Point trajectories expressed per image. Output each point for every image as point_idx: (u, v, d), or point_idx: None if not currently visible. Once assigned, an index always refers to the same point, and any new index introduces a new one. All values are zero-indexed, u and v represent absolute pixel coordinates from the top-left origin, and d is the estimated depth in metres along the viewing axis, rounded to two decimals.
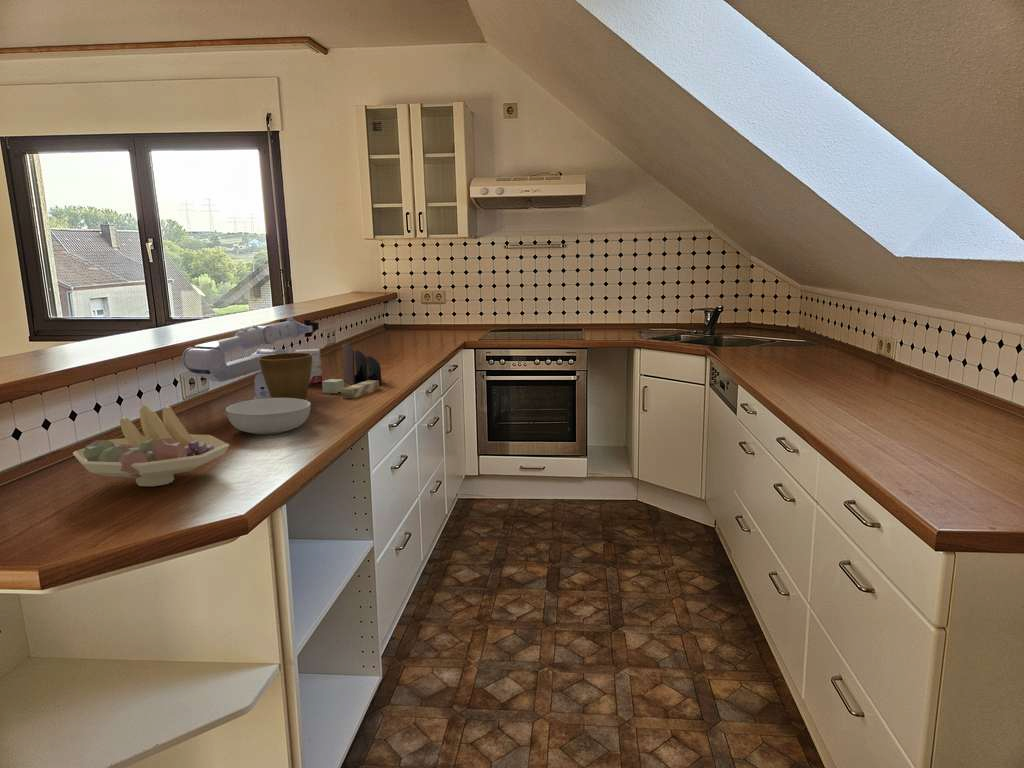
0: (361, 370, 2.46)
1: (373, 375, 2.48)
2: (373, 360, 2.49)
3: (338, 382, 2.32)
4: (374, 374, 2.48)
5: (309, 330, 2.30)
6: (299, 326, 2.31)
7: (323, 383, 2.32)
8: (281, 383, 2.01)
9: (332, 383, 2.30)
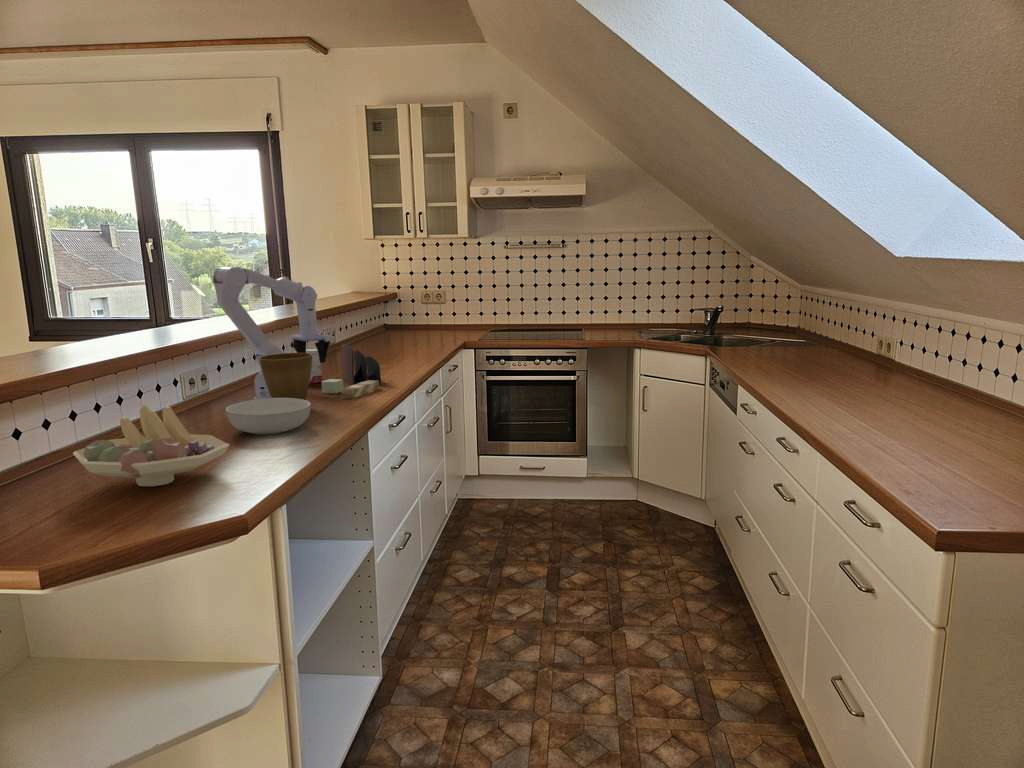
0: (360, 370, 2.46)
1: (372, 375, 2.48)
2: (372, 360, 2.49)
3: (337, 382, 2.32)
4: (373, 374, 2.48)
5: (327, 336, 2.30)
6: None
7: (322, 383, 2.31)
8: (281, 383, 2.01)
9: (331, 383, 2.30)
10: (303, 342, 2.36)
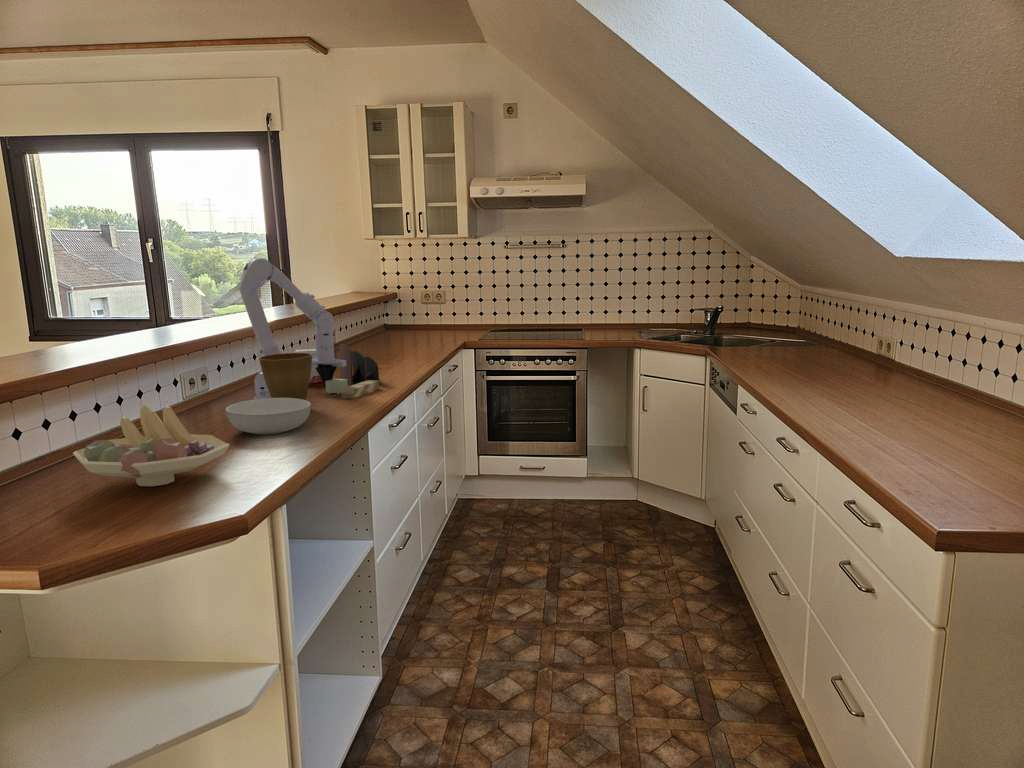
0: (359, 370, 2.46)
1: (371, 375, 2.48)
2: (371, 360, 2.48)
3: (341, 382, 2.31)
4: (372, 374, 2.48)
5: (343, 362, 2.30)
6: None
7: (326, 383, 2.31)
8: (281, 383, 2.01)
9: (335, 383, 2.30)
10: None
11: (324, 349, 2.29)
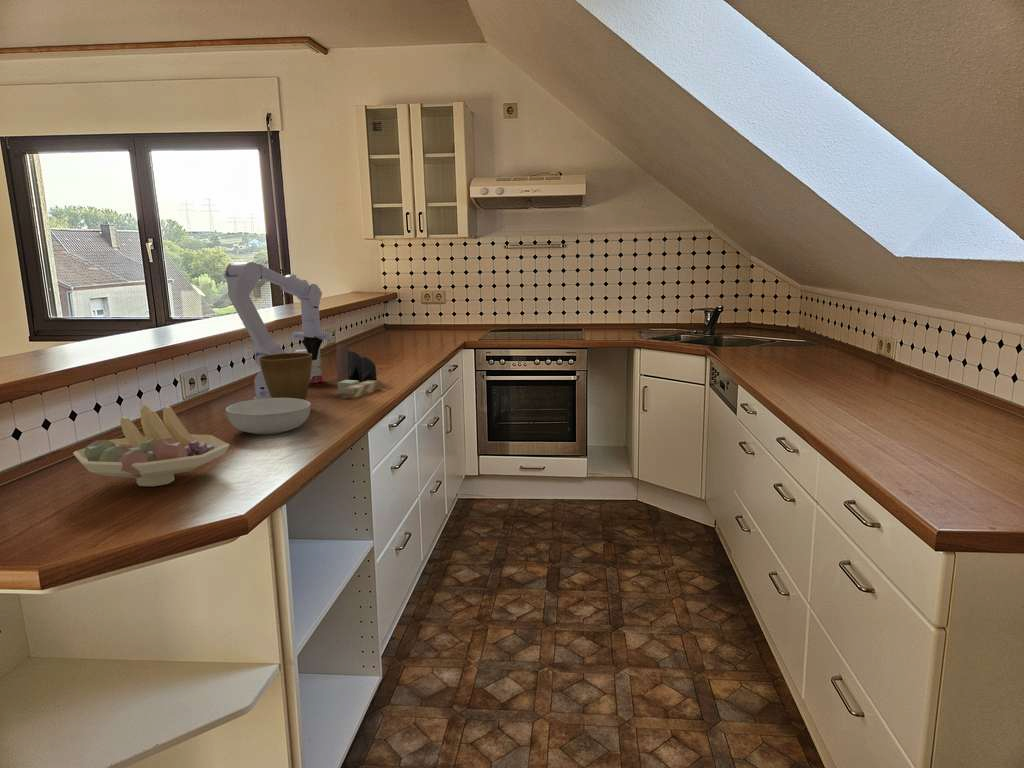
0: (356, 371, 2.45)
1: (368, 376, 2.47)
2: (368, 361, 2.48)
3: (353, 383, 2.30)
4: (369, 375, 2.47)
5: (329, 334, 2.34)
6: None
7: (338, 384, 2.29)
8: (281, 383, 2.01)
9: (348, 384, 2.28)
10: None
11: (310, 322, 2.33)
